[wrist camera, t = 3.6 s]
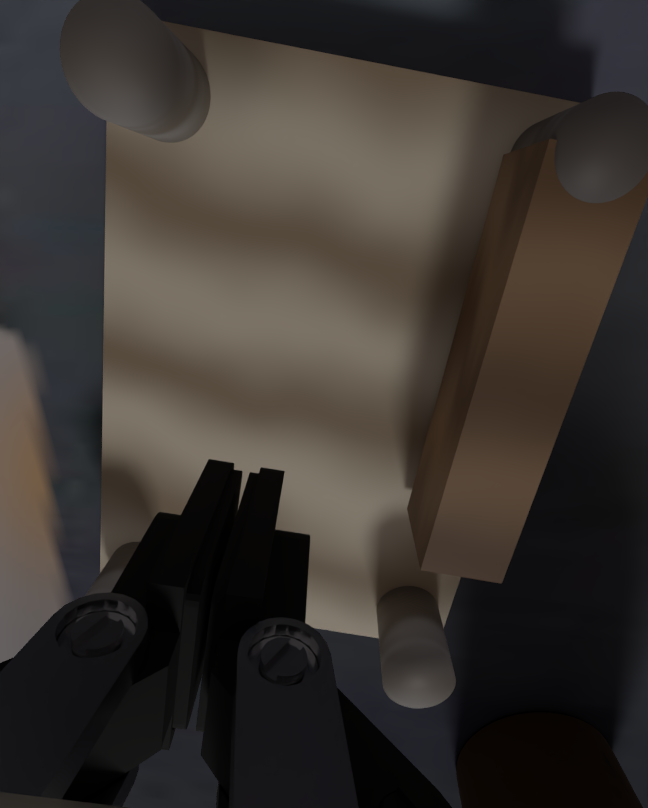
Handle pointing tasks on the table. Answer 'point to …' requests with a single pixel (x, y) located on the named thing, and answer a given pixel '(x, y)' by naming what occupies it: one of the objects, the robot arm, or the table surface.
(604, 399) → the table surface
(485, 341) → the folding leg
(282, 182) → the stool seat
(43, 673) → the robot arm
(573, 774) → the olive oil
